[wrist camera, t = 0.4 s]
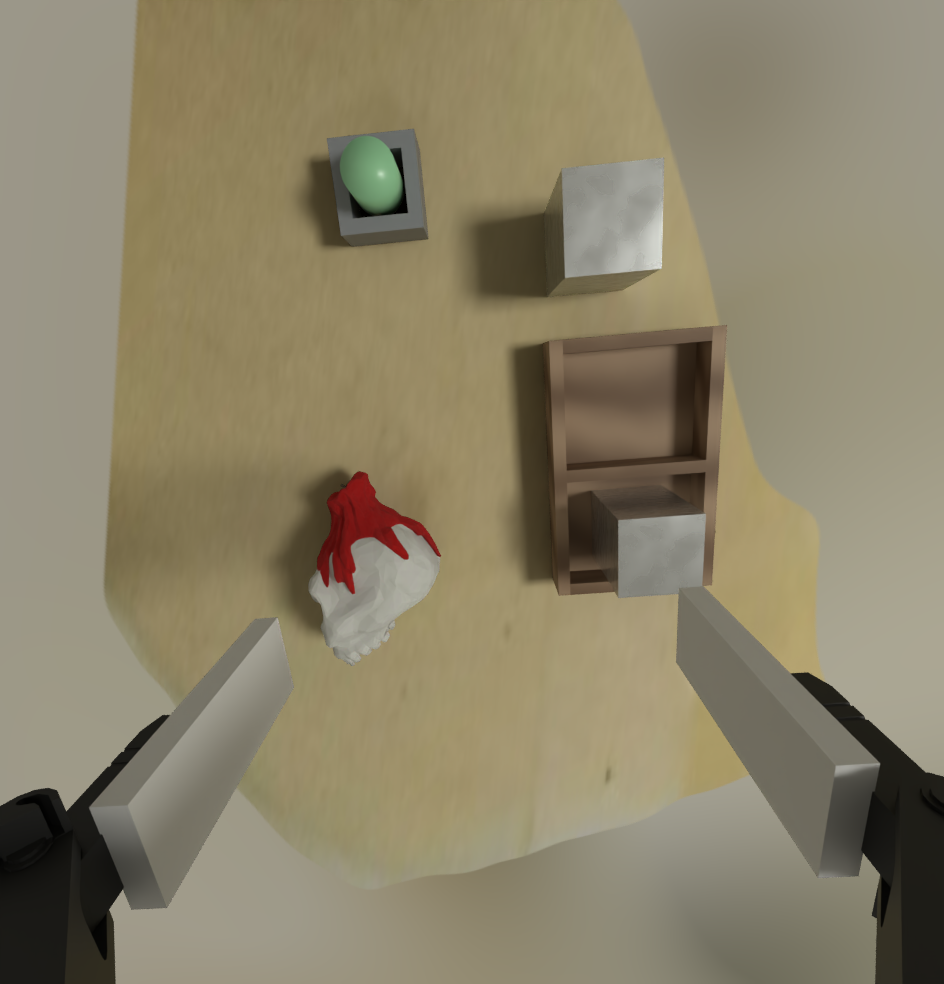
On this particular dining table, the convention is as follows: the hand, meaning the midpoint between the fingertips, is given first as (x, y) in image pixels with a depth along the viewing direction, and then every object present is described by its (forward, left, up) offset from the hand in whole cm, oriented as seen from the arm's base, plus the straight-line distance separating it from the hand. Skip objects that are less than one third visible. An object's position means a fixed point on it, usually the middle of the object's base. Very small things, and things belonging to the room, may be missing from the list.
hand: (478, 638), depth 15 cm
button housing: (-22, -6, -26) cm, 34 cm away
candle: (+6, -10, -26) cm, 29 cm away
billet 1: (-17, +9, -26) cm, 32 cm away
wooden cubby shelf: (0, +12, -26) cm, 29 cm away
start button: (-22, -5, -24) cm, 33 cm away
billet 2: (+5, +12, -25) cm, 28 cm away
